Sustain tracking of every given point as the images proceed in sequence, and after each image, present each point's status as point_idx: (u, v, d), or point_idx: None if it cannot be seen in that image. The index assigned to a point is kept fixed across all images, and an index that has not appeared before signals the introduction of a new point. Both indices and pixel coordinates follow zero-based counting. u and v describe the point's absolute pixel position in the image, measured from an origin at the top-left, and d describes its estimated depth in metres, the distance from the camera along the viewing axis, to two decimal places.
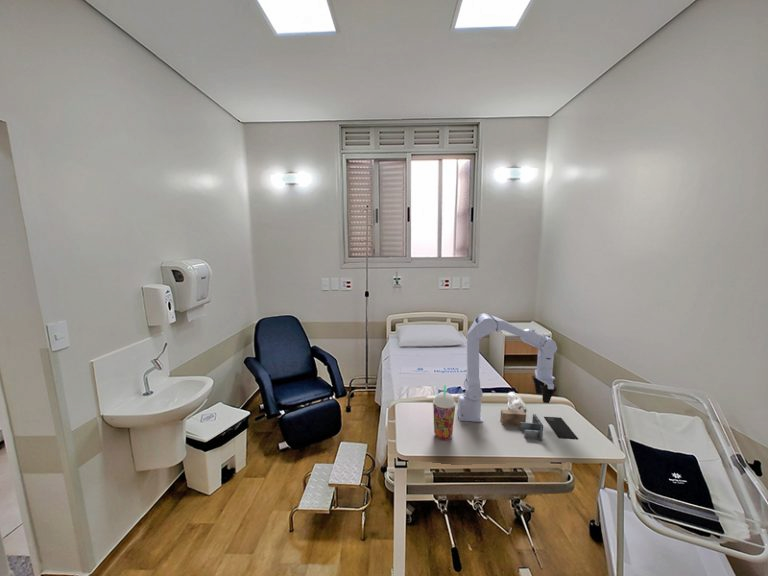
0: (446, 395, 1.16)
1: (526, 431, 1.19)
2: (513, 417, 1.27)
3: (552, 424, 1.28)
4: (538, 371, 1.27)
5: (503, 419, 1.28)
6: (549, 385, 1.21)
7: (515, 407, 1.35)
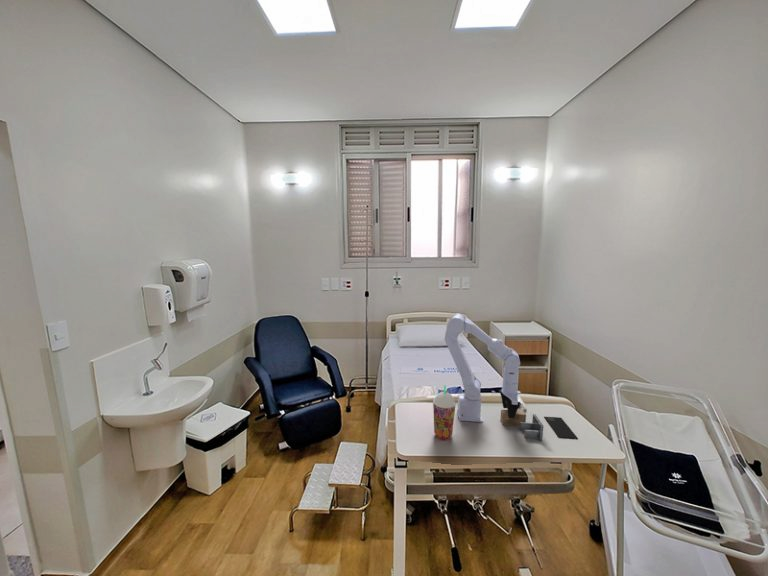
0: (446, 395, 1.16)
1: (526, 431, 1.19)
2: None
3: (552, 424, 1.28)
4: (503, 386, 1.26)
5: (503, 419, 1.28)
6: (513, 401, 1.20)
7: None
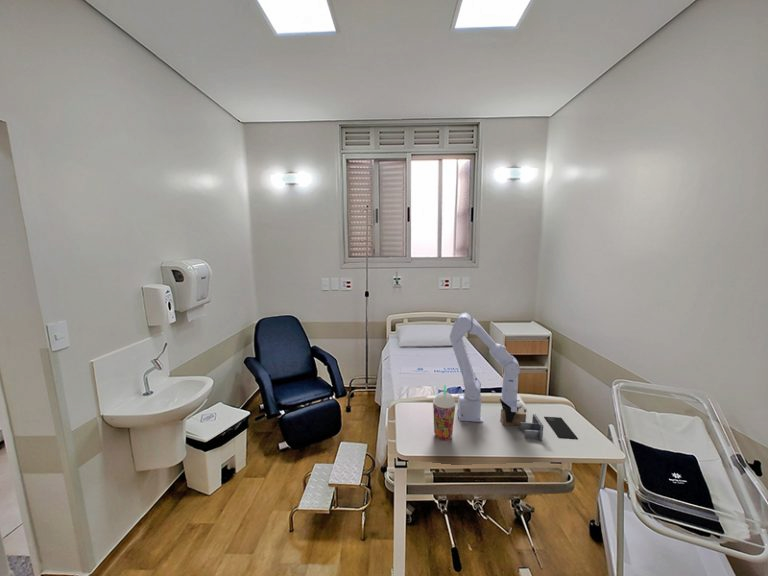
0: (446, 395, 1.16)
1: (526, 431, 1.19)
2: None
3: (552, 424, 1.28)
4: (503, 393, 1.27)
5: (503, 419, 1.28)
6: (512, 408, 1.21)
7: None
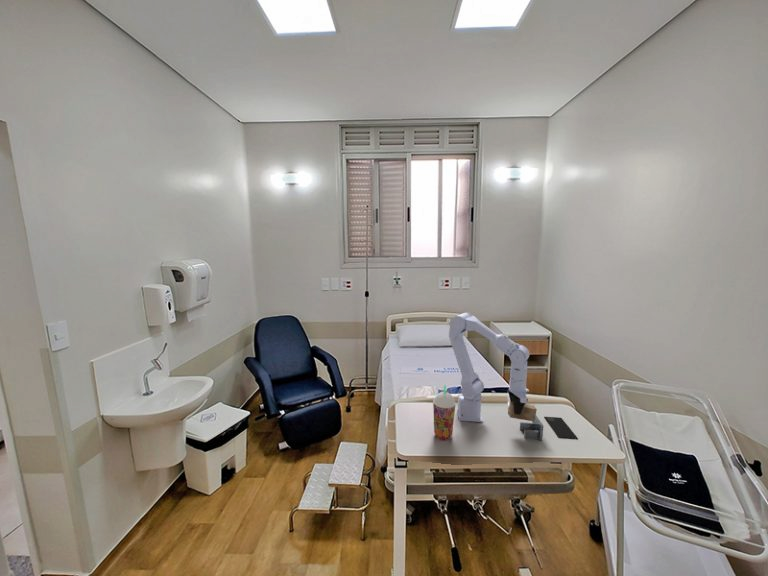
0: (446, 395, 1.16)
1: (526, 431, 1.19)
2: (523, 410, 1.20)
3: (552, 424, 1.28)
4: (511, 383, 1.20)
5: (512, 412, 1.21)
6: (521, 399, 1.14)
7: None
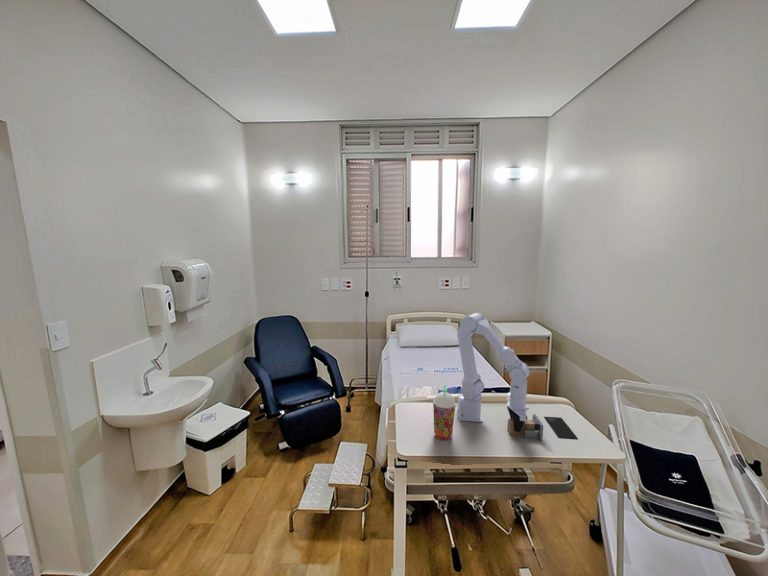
0: (446, 395, 1.16)
1: (526, 431, 1.19)
2: None
3: (552, 424, 1.28)
4: (511, 400, 1.20)
5: (510, 429, 1.21)
6: (521, 417, 1.14)
7: None
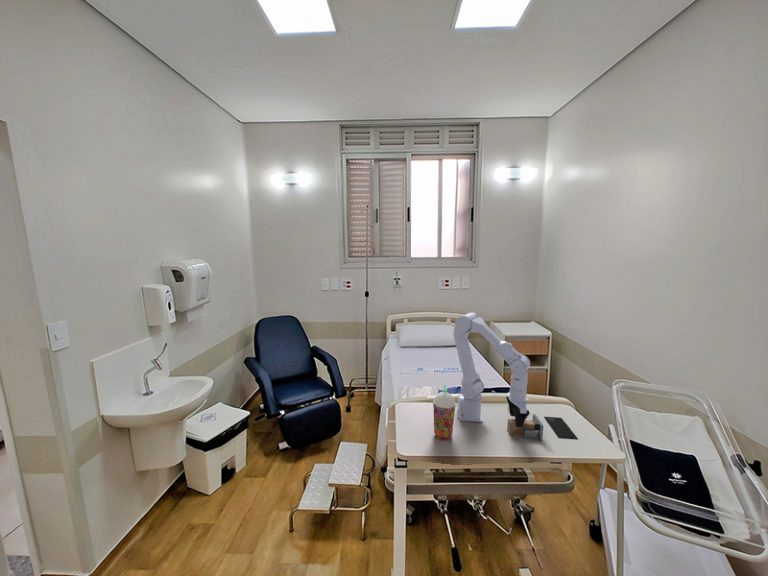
0: (446, 395, 1.16)
1: (526, 431, 1.19)
2: (521, 427, 1.20)
3: (552, 424, 1.28)
4: (511, 393, 1.19)
5: (510, 429, 1.21)
6: (521, 409, 1.13)
7: None
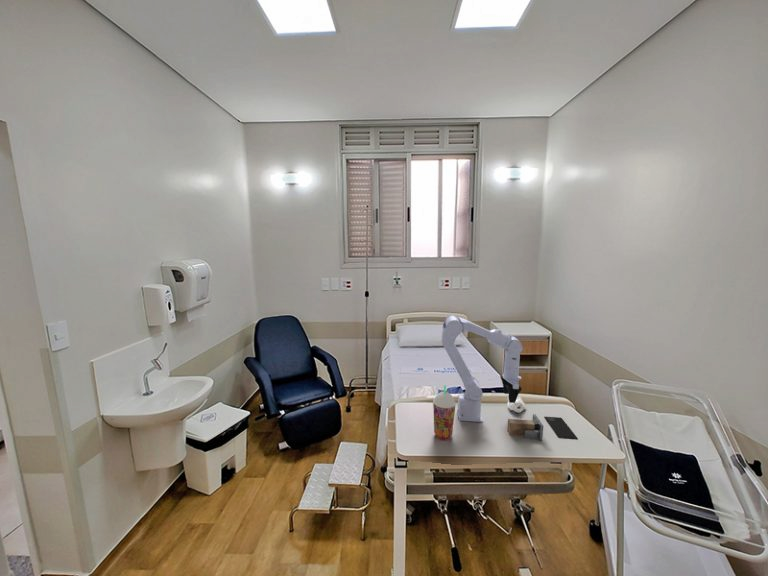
0: (446, 395, 1.17)
1: (526, 431, 1.19)
2: (521, 427, 1.20)
3: (552, 424, 1.28)
4: (505, 371, 1.29)
5: (510, 429, 1.21)
6: (514, 385, 1.23)
7: (514, 407, 1.36)
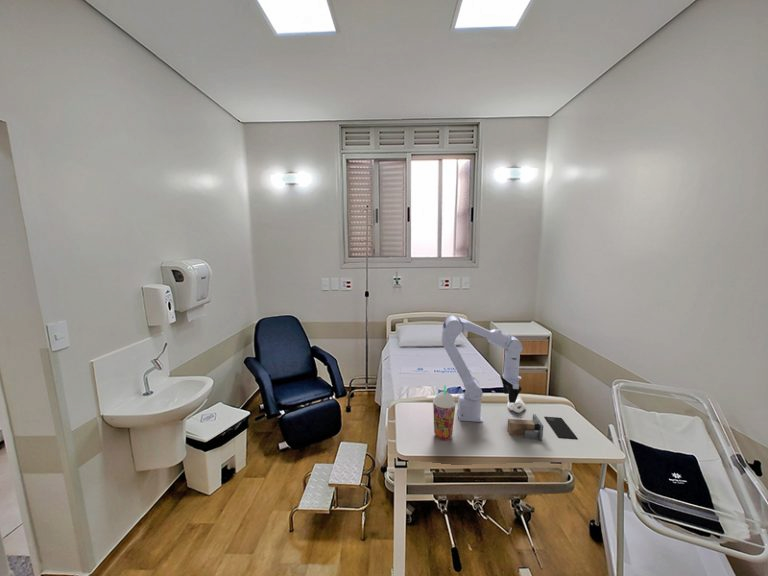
0: (446, 395, 1.17)
1: (526, 431, 1.19)
2: (521, 427, 1.20)
3: (552, 424, 1.28)
4: (505, 371, 1.29)
5: (510, 429, 1.21)
6: (514, 385, 1.23)
7: (514, 407, 1.36)
